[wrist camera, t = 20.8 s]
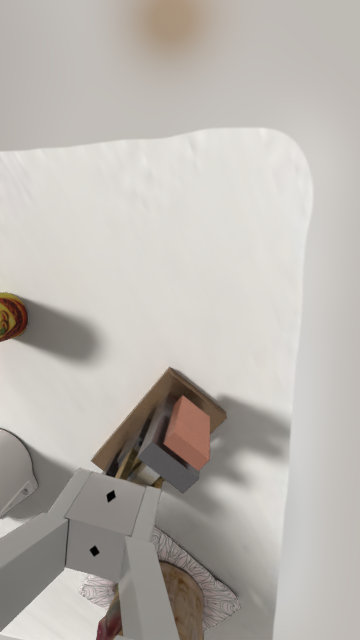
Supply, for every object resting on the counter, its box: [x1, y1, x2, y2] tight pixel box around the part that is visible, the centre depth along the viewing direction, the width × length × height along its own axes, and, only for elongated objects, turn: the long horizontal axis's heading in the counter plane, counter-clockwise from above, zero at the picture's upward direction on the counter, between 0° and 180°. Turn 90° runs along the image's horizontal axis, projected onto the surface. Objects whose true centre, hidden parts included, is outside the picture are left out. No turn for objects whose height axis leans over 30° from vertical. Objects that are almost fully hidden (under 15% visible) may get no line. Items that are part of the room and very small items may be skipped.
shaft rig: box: [91, 367, 227, 493], centre depth 35 cm, size 23×12×12 cm, turn 142°
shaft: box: [127, 396, 210, 486], centre depth 32 cm, size 19×5×8 cm, turn 142°
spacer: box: [115, 448, 163, 489], centre depth 33 cm, size 2×6×6 cm, turn 53°
